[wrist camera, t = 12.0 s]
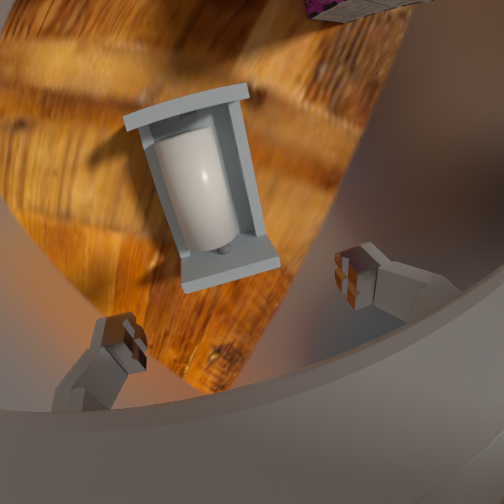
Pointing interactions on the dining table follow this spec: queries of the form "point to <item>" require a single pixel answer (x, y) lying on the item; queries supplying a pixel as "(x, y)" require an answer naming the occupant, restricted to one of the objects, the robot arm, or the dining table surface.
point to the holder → (235, 175)
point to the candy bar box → (350, 8)
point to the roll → (197, 188)
